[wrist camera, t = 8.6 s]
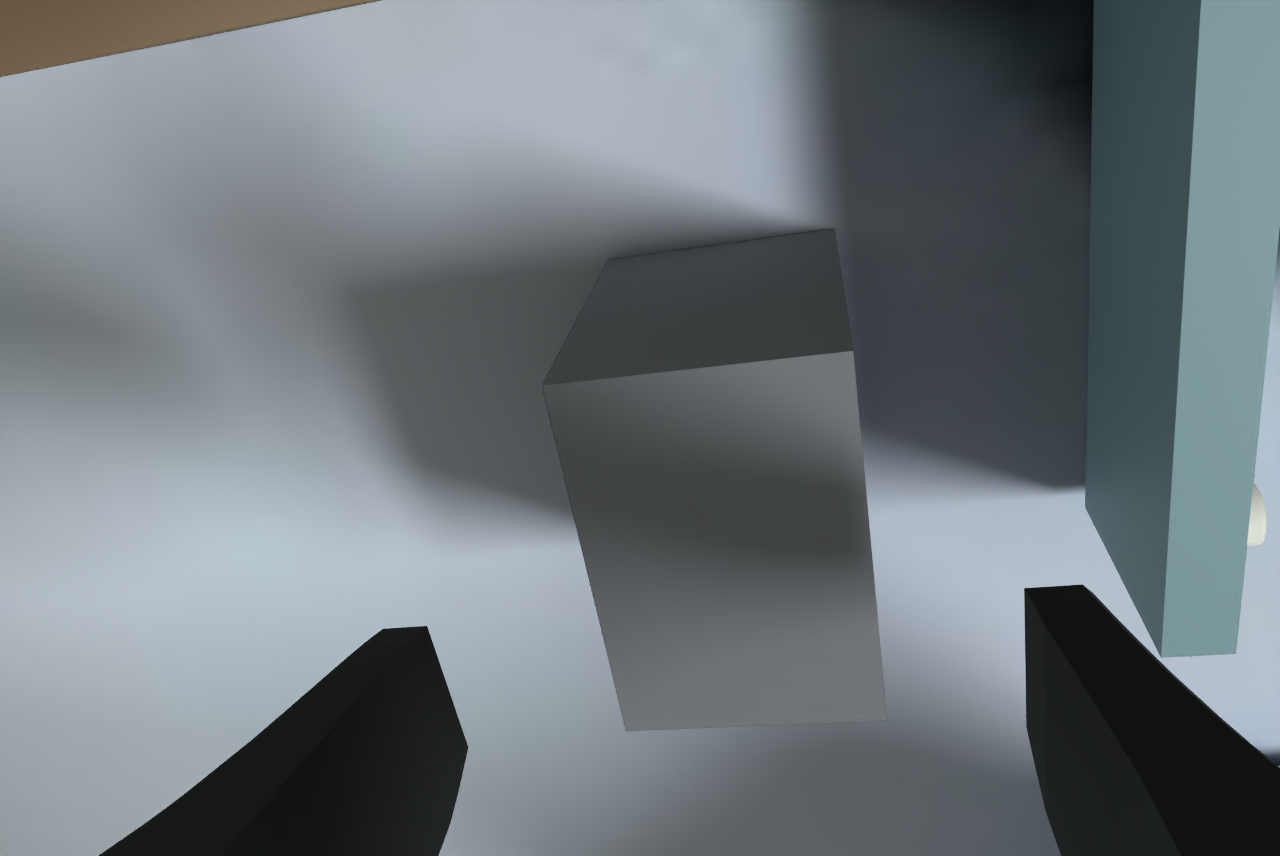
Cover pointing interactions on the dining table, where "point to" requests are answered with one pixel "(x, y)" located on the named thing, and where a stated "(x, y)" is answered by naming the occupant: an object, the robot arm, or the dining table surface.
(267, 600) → the dining table surface
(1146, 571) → the door
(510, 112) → the dining table surface
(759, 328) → the block
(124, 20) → the wooden plank
